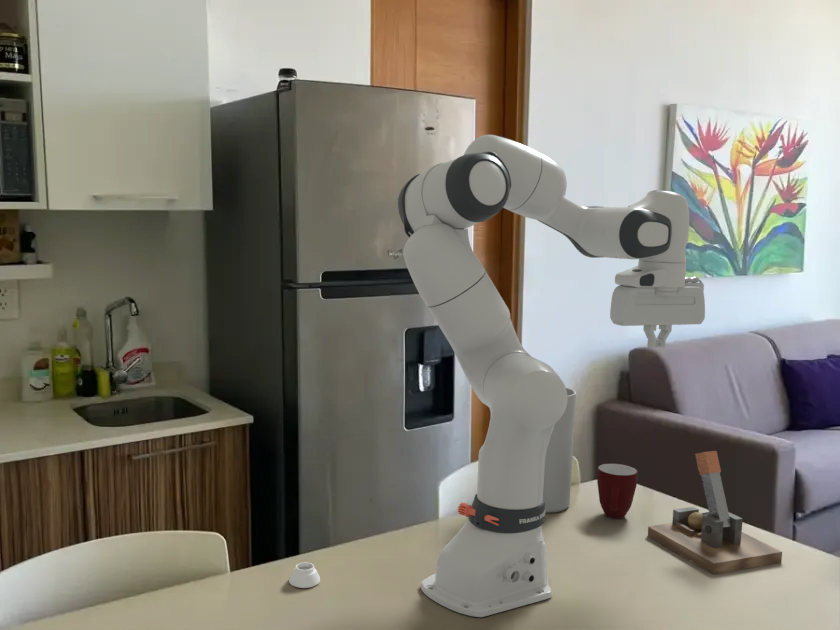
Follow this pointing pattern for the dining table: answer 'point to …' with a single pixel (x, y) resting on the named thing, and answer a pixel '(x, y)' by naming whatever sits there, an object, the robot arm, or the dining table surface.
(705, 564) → the bench
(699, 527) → the walnut
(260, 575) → the dining table surface
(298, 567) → the lidless jar
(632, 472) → the mug
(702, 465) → the lever
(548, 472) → the cylinder vase
